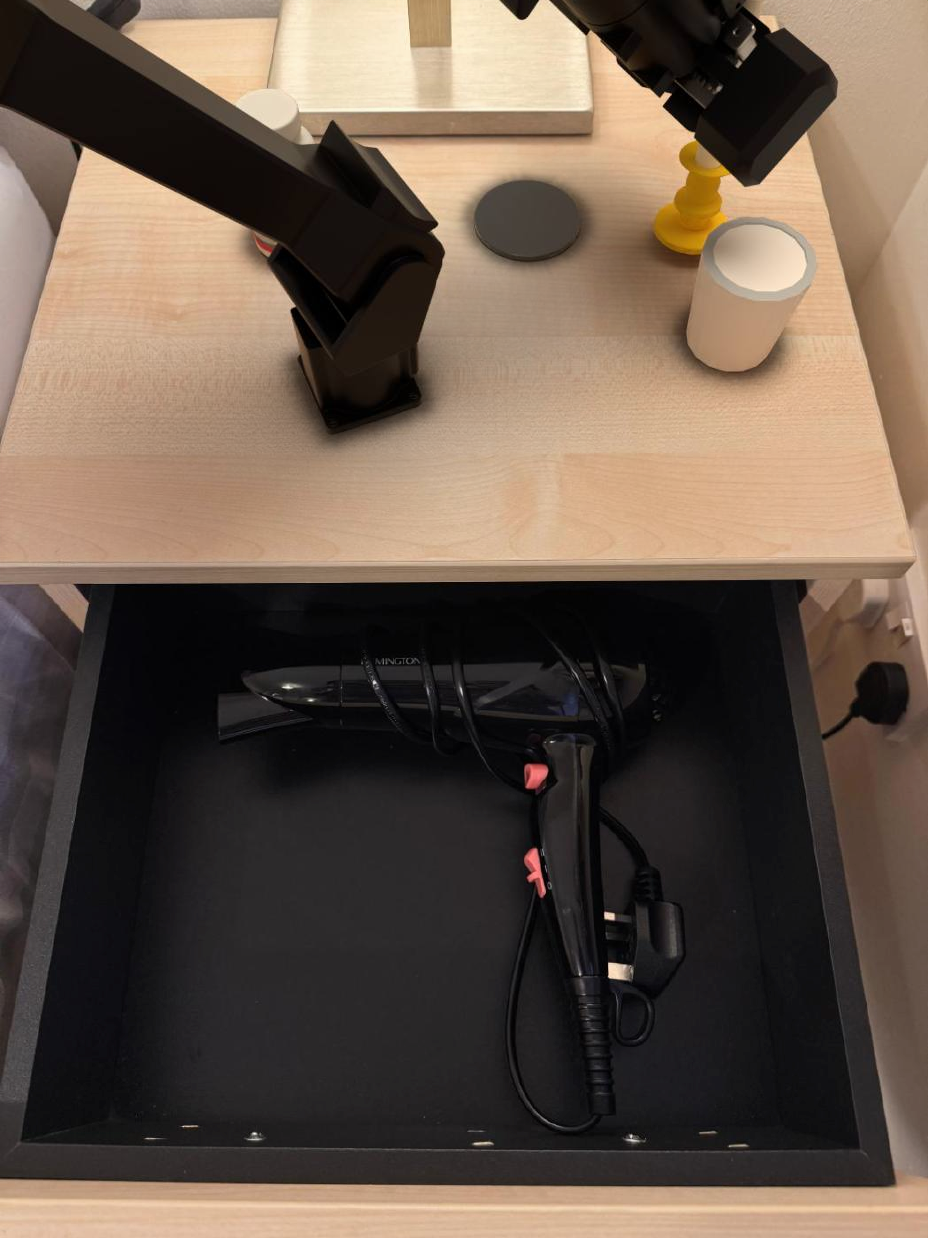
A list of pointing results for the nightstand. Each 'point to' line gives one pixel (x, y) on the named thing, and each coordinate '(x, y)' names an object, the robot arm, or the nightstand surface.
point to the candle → (695, 194)
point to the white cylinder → (747, 291)
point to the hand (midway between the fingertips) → (733, 100)
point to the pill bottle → (275, 129)
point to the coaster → (527, 220)
